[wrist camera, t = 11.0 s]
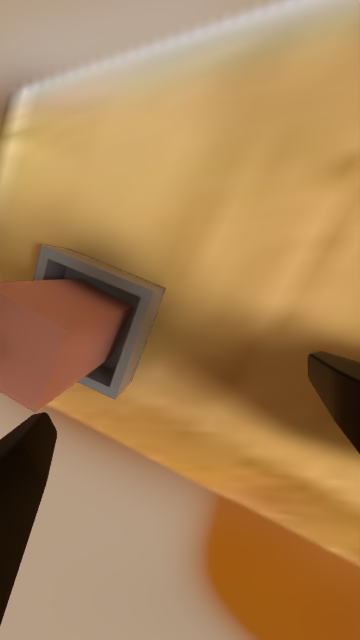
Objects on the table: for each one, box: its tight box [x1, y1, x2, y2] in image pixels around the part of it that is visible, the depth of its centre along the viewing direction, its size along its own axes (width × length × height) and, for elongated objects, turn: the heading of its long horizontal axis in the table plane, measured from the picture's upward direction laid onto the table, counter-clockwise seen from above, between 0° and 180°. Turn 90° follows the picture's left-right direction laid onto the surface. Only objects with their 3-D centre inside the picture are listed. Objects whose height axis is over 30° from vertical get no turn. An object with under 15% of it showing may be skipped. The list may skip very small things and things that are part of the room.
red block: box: [0, 279, 133, 412], centre depth 17 cm, size 5×5×9 cm
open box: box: [33, 245, 166, 399], centre depth 21 cm, size 9×9×4 cm
